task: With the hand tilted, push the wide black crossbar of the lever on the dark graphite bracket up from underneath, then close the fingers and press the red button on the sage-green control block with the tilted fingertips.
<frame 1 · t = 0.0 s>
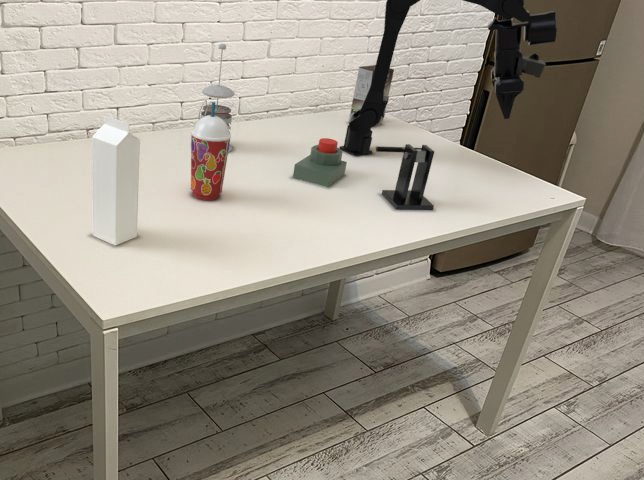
hand: (505, 114, 184), 15 cm above the table, tool pointing down, fingers open, 9 cm apart
control block: (318, 176, 178), on the table
lever: (411, 153, 166), point 10 cm above the table, hinge at -10.0°
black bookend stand: (406, 202, 169), on the table
smoothie: (205, 196, 161), on the table
french press: (211, 148, 188), on the table
milk: (114, 237, 139), on the table
button: (327, 146, 176), point 7 cm above the table, slide at 0.1 cm
coffee box: (365, 124, 221), on the table
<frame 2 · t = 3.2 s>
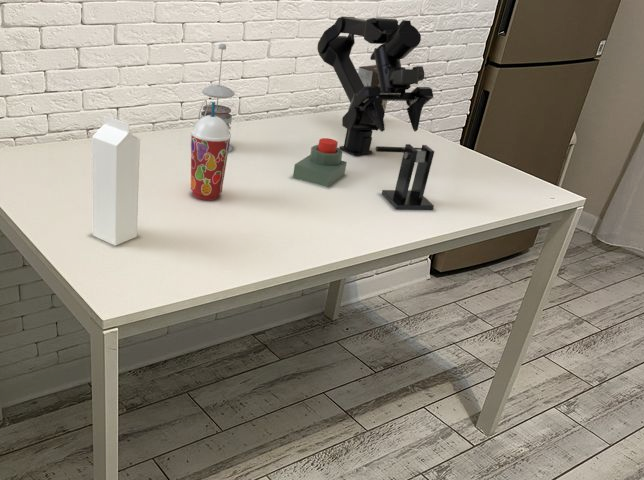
hand: (399, 130, 177), 11 cm above the table, tool tilted 40°, fingers open, 9 cm apart
nothing on the table moved.
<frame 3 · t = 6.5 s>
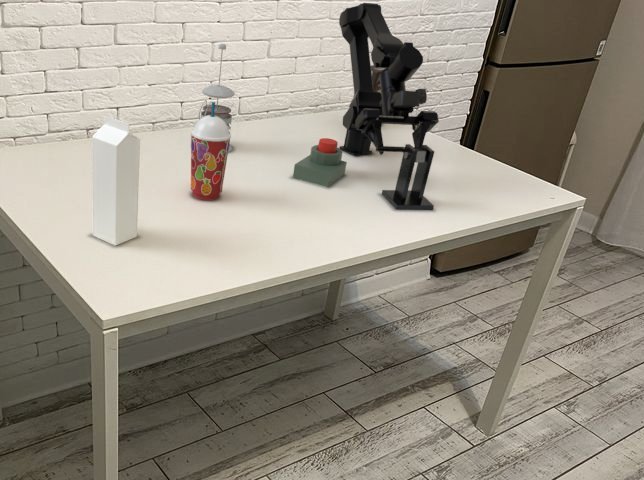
hand: (400, 154, 171), 8 cm above the table, tool tilted 45°
lever: (411, 152, 166), point 10 cm above the table, hinge at -9.2°, touching gripper
everything else where it was.
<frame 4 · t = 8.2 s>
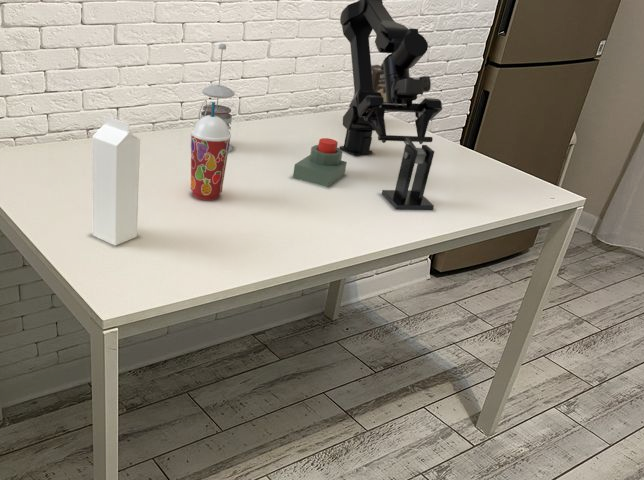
hand: (403, 142, 170), 11 cm above the table, tool tilted 40°
lever: (412, 147, 165), point 12 cm above the table, hinge at 9.0°, touching gripper
everything else where it was.
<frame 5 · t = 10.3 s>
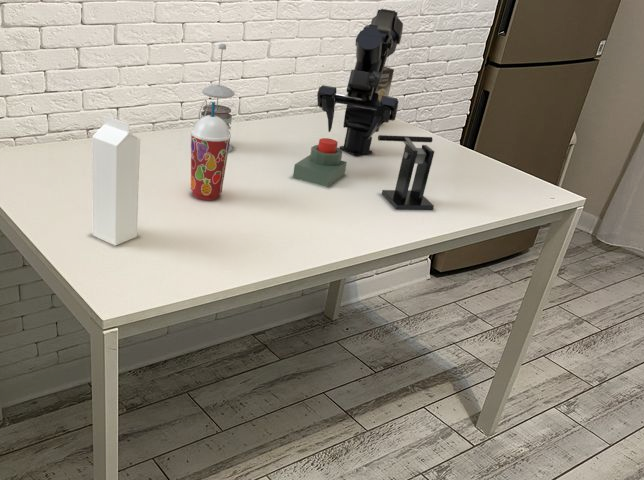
hand: (348, 134, 172), 11 cm above the table, tool tilted 45°, fingers open, 9 cm apart
lever: (412, 148, 165), point 12 cm above the table, hinge at 8.6°
everything else where it was.
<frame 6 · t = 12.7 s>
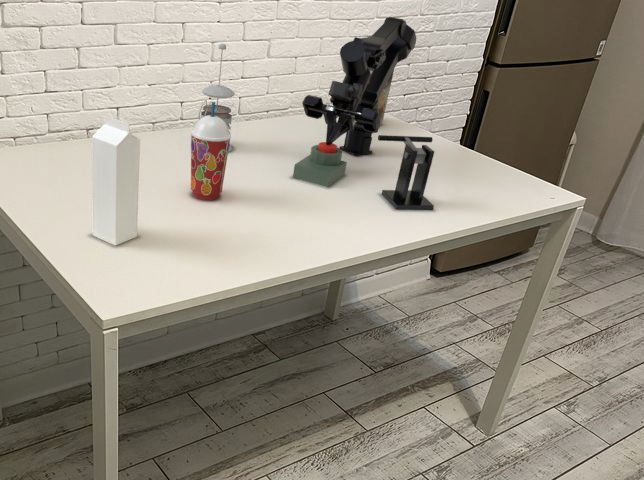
hand: (327, 144, 175), 7 cm above the table, tool tilted 45°, fingers closed, pressing on button
button: (326, 150, 176), point 6 cm above the table, slide at -0.9 cm, touching gripper
everything else where it was.
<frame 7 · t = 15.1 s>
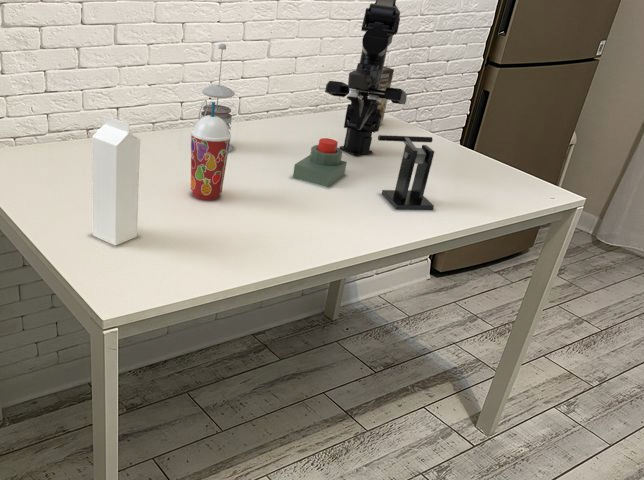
hand: (358, 129, 178), 10 cm above the table, tool tilted 20°, fingers closed
button: (327, 146, 176), point 7 cm above the table, slide at 0.1 cm
everything else where it was.
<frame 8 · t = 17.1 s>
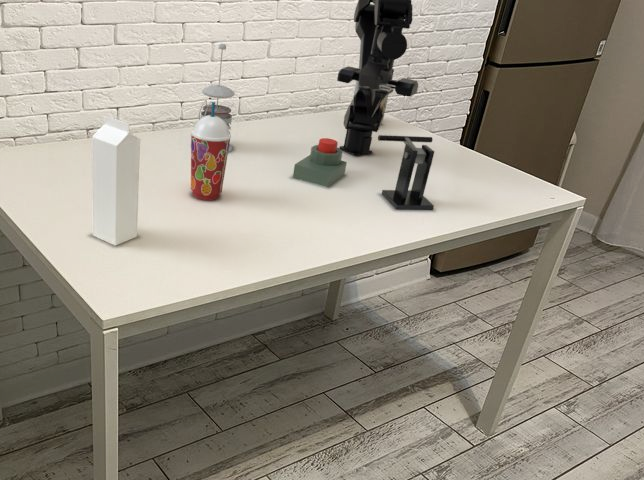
hand: (370, 117, 182), 12 cm above the table, tool pointing down, fingers closed
nothing on the table moved.
at the end: lever at +9° (first picture: -10°); button pushed in 1.5 cm at the most during the clip, back to where it started at the end; button slide at 0.1 cm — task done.
